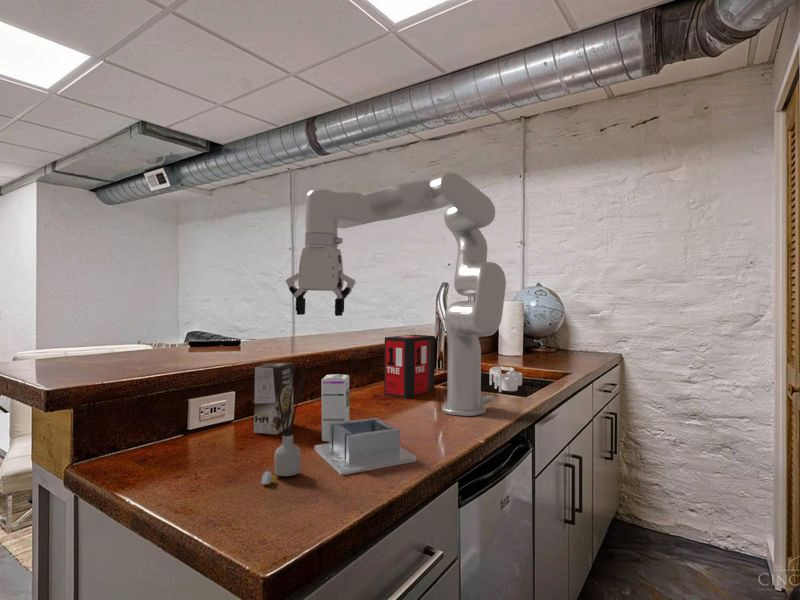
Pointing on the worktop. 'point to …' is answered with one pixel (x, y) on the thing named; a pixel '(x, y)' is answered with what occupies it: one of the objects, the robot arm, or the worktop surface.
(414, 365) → the cleaning product box
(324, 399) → the syrup box
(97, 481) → the worktop surface
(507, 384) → the skeletal toy car
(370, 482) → the worktop surface
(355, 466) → the square socket
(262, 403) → the coffee box
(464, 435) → the worktop surface
